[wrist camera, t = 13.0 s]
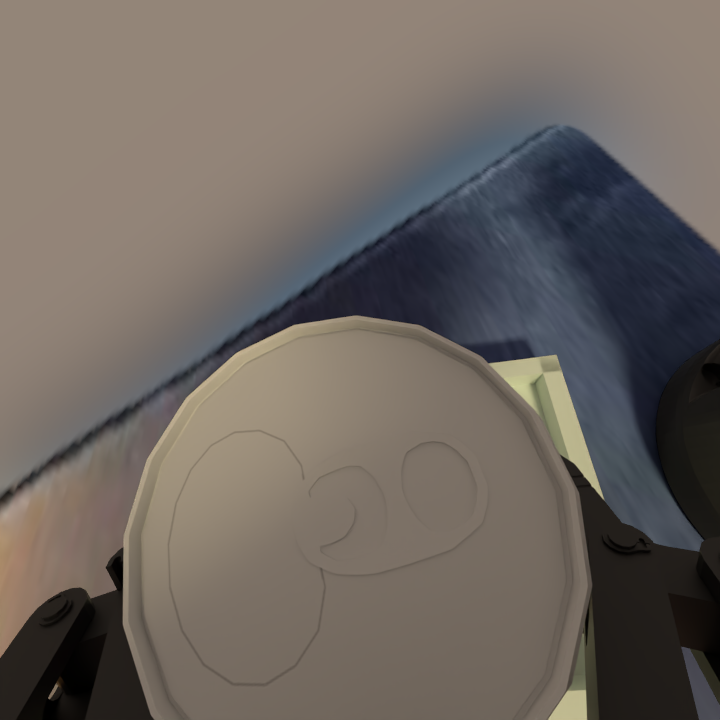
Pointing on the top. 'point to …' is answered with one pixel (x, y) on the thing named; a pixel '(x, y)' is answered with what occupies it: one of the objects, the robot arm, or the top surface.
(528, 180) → the top surface
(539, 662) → the supplement can
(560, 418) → the tray
